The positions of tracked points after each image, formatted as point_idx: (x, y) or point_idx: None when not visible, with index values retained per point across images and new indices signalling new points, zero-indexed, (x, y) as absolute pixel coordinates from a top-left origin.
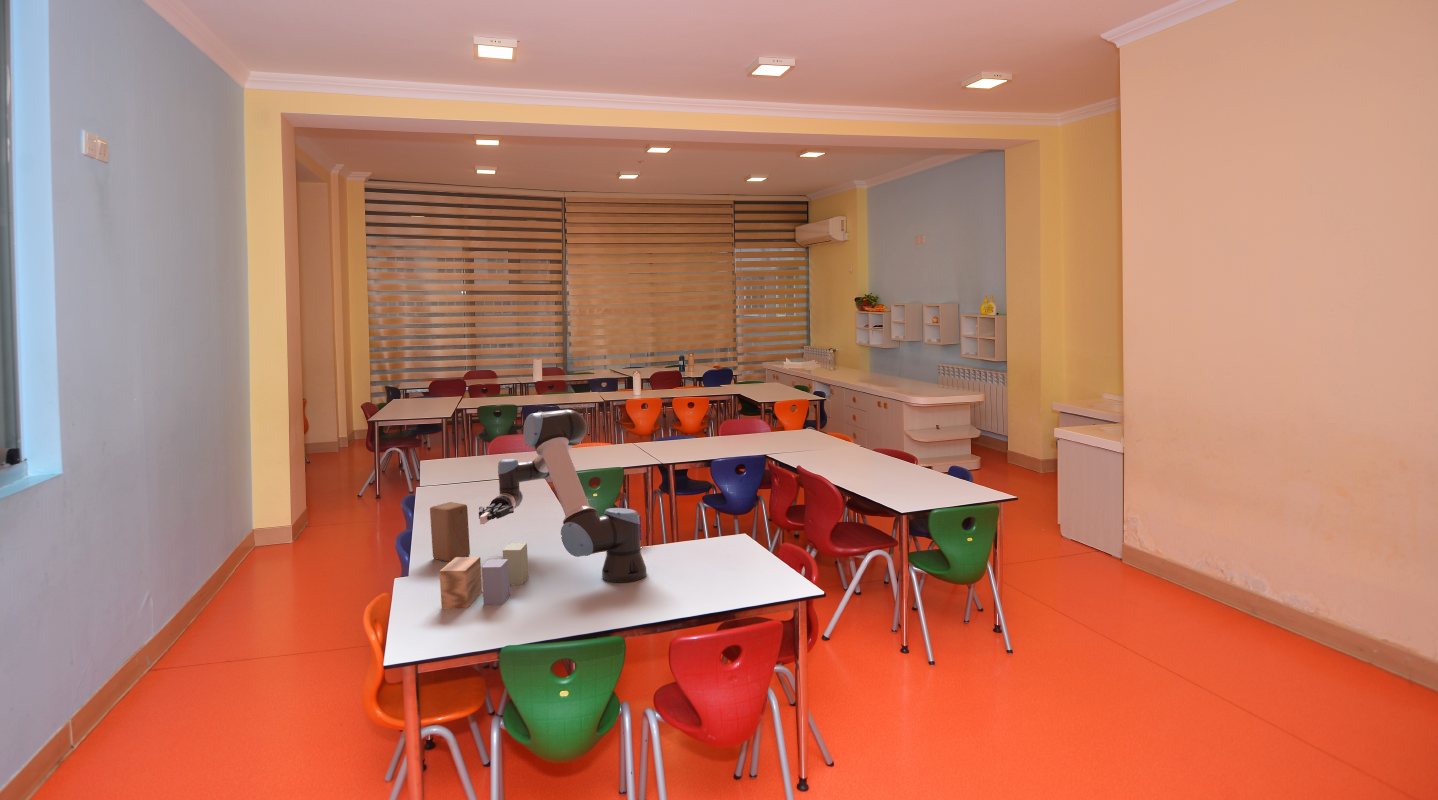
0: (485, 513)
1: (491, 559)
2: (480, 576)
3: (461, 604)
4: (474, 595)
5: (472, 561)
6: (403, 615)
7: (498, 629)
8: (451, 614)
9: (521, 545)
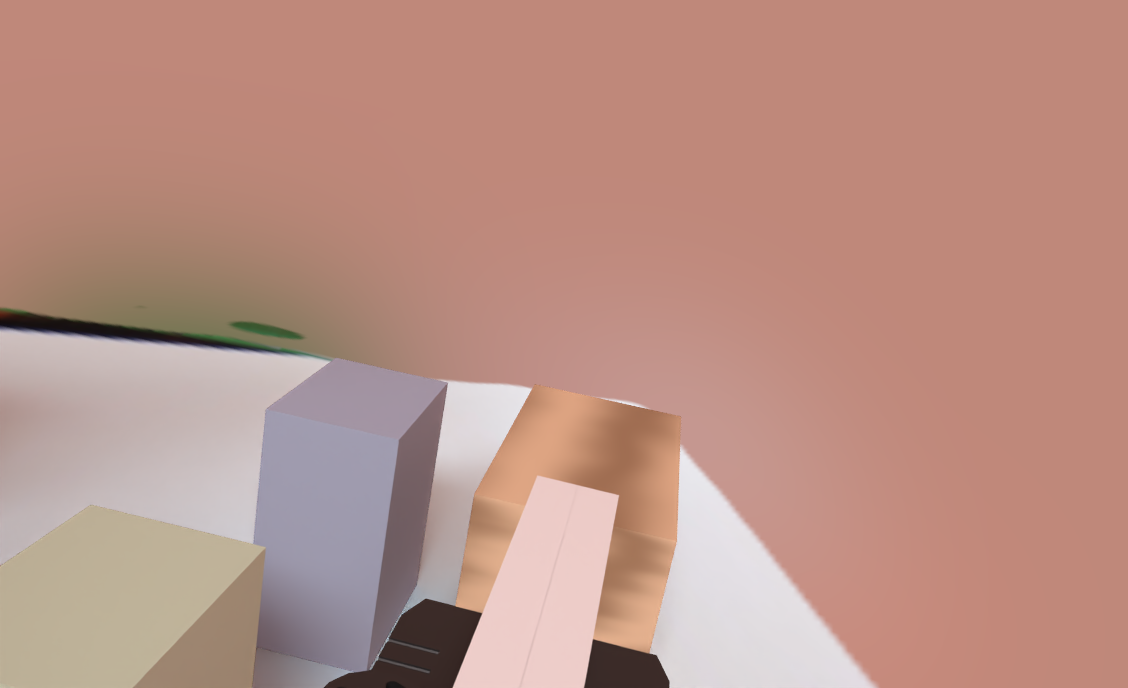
0: (548, 638)
1: (385, 435)
2: None
3: None
4: None
5: (519, 452)
6: (793, 599)
7: None
8: None
9: (4, 597)
